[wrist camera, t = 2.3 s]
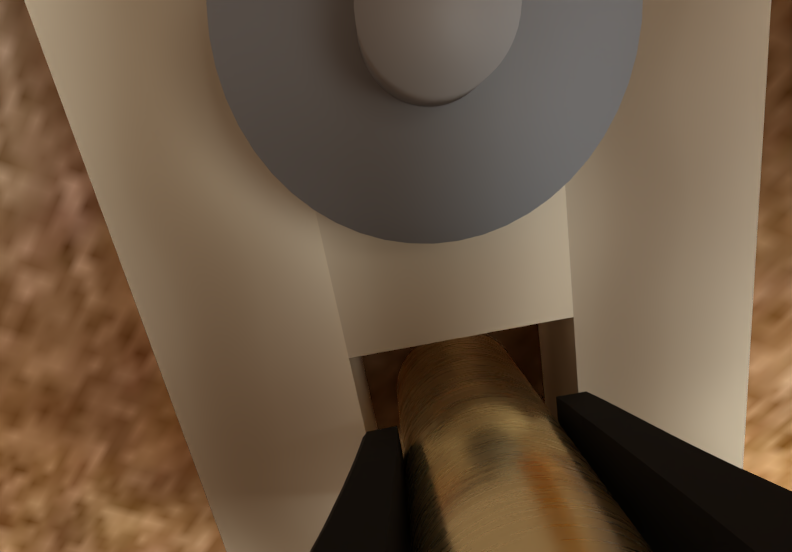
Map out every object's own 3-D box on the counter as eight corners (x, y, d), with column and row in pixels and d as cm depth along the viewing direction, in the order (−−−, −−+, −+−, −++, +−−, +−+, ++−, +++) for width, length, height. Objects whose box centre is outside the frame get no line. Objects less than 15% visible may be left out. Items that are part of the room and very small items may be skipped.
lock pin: (509, 319, 10) (785, 621, 3) (521, 426, 11) (761, 844, 4) (386, 342, 10) (406, 691, 3) (407, 447, 11) (458, 901, 4)
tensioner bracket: (683, -168, 8) (999, -520, 4) (678, 441, 11) (837, 581, 7) (77, -57, 8) (-233, -295, 4) (263, 517, 11) (203, 698, 7)
